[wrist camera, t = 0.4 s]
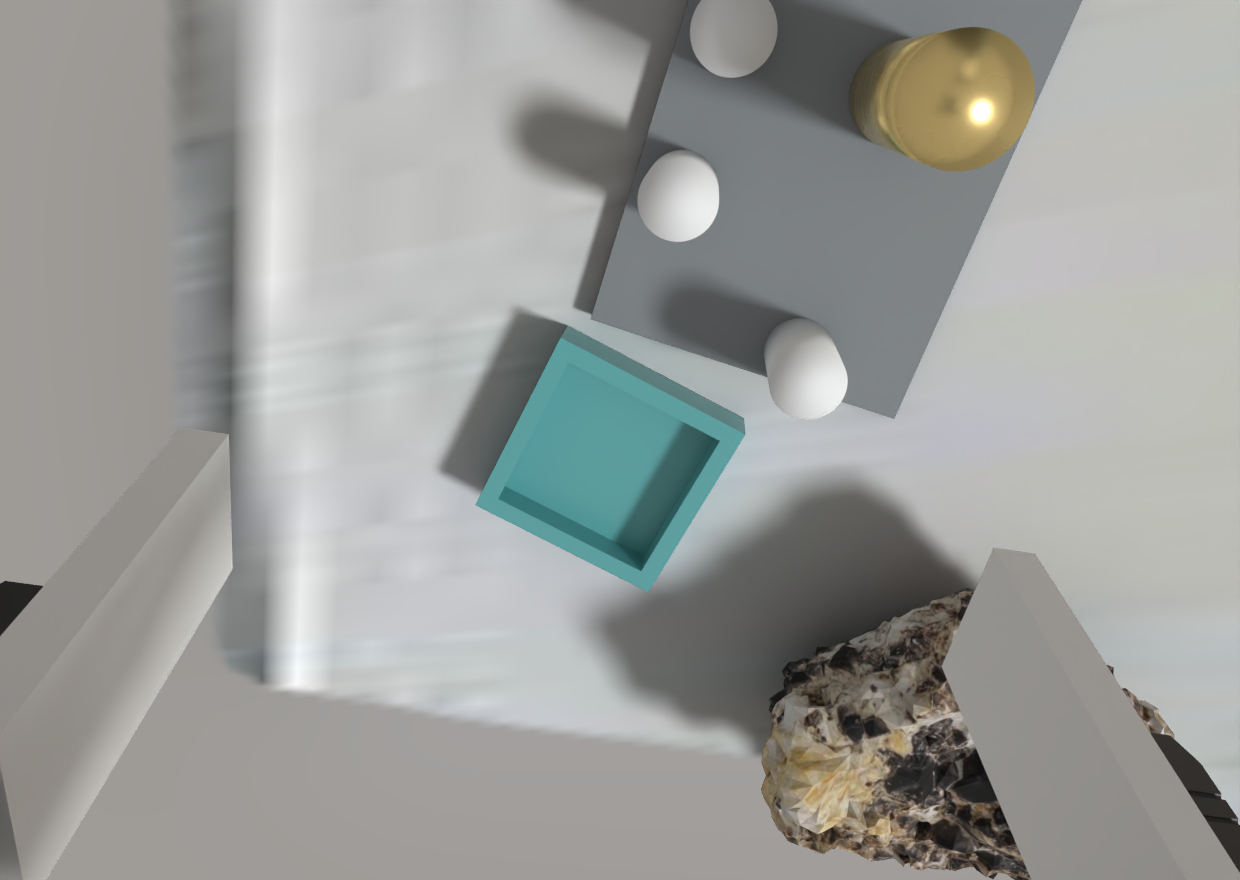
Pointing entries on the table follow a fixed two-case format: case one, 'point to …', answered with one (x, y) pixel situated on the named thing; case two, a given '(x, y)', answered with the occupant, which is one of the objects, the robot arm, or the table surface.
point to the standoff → (945, 97)
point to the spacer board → (802, 199)
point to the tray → (610, 460)
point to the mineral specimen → (890, 752)
